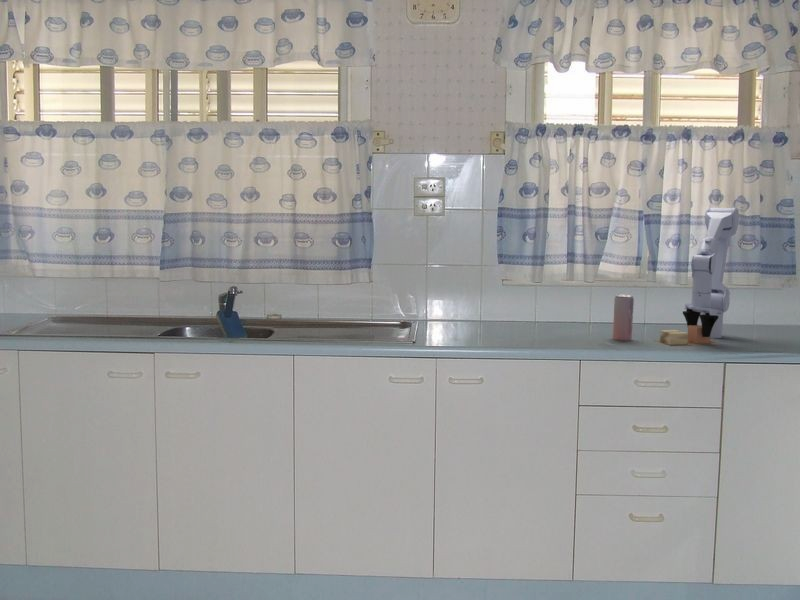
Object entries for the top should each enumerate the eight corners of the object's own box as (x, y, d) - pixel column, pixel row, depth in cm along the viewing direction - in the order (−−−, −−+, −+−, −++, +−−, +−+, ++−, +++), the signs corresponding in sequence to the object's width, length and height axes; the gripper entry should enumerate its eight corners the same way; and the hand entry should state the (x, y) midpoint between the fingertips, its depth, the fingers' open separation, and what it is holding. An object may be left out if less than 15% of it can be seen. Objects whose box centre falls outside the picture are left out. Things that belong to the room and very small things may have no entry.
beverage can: (617, 339, 273) (619, 294, 271) (634, 341, 269) (636, 295, 267) (609, 341, 268) (611, 295, 266) (626, 343, 264) (629, 297, 263)
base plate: (653, 342, 267) (653, 340, 267) (703, 341, 271) (703, 338, 271) (670, 348, 257) (670, 345, 257) (721, 346, 262) (721, 344, 261)
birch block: (659, 341, 265) (660, 330, 265) (676, 340, 267) (677, 330, 266) (670, 344, 259) (670, 333, 259) (687, 344, 261) (687, 333, 260)
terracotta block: (687, 340, 267) (688, 325, 266) (700, 340, 268) (701, 325, 267) (696, 343, 262) (697, 327, 261) (710, 343, 263) (711, 327, 263)
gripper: (677, 290, 269) (675, 331, 271) (703, 295, 255) (701, 338, 257) (696, 290, 271) (694, 331, 272) (724, 295, 257) (721, 338, 258)
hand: (699, 334), depth 265 cm, fingers open, 7 cm apart
